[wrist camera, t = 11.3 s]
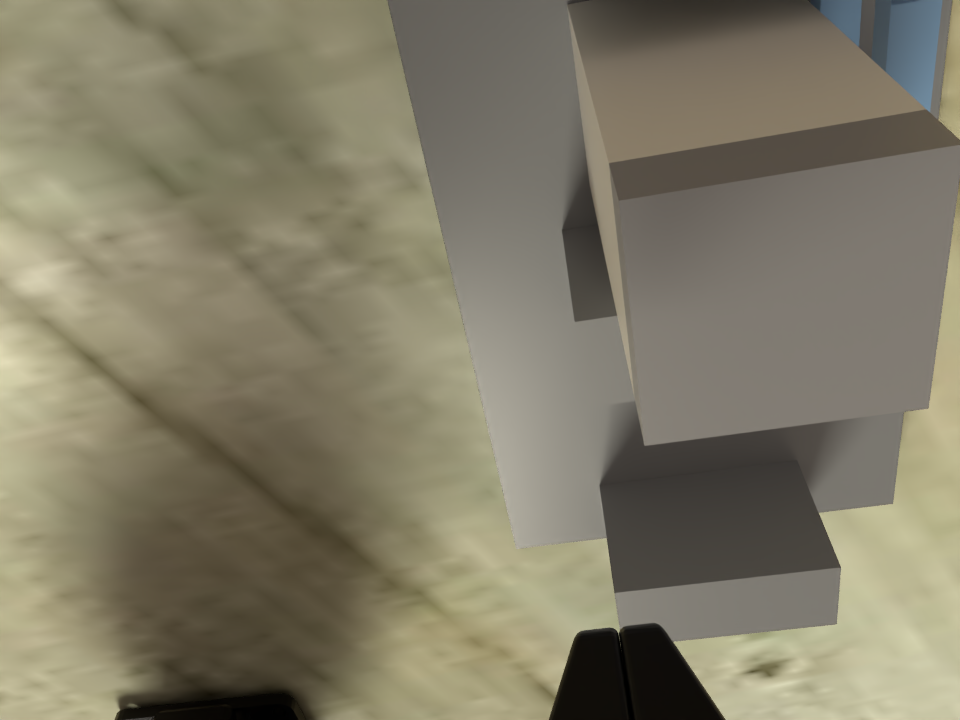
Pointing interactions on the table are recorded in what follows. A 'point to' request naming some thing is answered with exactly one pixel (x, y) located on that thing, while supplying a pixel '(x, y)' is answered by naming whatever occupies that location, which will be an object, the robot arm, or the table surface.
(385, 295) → the table surface
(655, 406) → the grey boxy block piece
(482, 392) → the rail
